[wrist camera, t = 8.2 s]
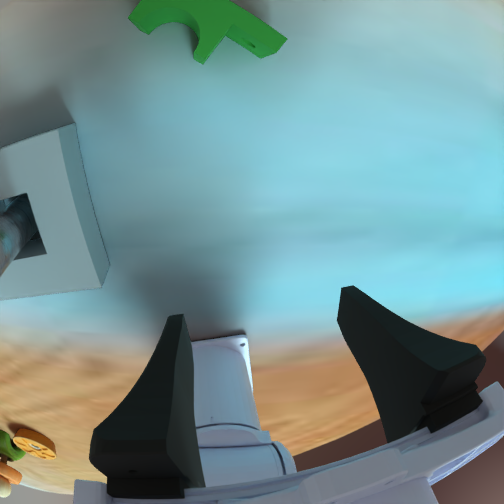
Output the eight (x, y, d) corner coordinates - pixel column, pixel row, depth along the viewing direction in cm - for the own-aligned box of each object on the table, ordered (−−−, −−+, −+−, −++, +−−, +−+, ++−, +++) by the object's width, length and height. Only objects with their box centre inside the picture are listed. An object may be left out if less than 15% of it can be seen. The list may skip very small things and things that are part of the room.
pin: (50, 224, 20) (-3, 297, 12) (22, 233, 20) (-33, 304, 12) (37, 188, 18) (-29, 248, 11) (9, 199, 18) (-57, 260, 10)
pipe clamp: (107, 15, 14) (86, 0, 10) (138, -25, 13) (126, -49, 9) (239, 87, 18) (249, 87, 15) (270, 47, 17) (288, 38, 13)
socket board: (109, 264, 23) (101, 287, 20) (5, 280, 21) (-8, 301, 19) (75, 122, 17) (58, 129, 14) (-36, 163, 16) (-57, 175, 13)
